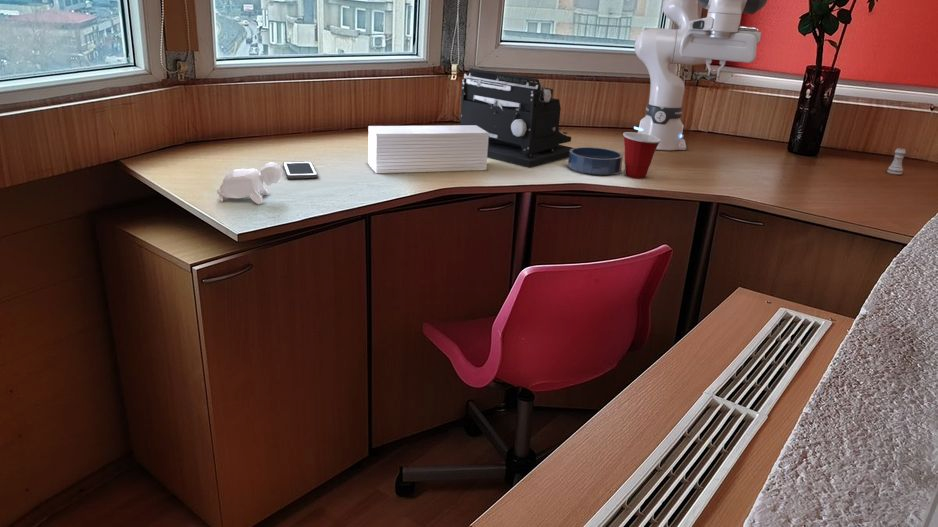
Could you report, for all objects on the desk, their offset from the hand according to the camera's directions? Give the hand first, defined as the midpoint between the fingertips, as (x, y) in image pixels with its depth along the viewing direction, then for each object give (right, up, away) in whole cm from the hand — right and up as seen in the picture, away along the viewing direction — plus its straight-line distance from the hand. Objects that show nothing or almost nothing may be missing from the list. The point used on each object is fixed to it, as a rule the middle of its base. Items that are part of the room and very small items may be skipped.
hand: (713, 76), depth 201 cm
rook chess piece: (+69, -23, +31) cm, 79 cm away
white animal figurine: (-119, -37, -34) cm, 129 cm away
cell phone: (-114, -28, -9) cm, 117 cm away
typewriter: (-54, -17, +29) cm, 63 cm away
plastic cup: (-20, -27, +8) cm, 35 cm away
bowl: (-31, -24, +13) cm, 42 cm away
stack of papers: (-80, -25, +4) cm, 84 cm away
